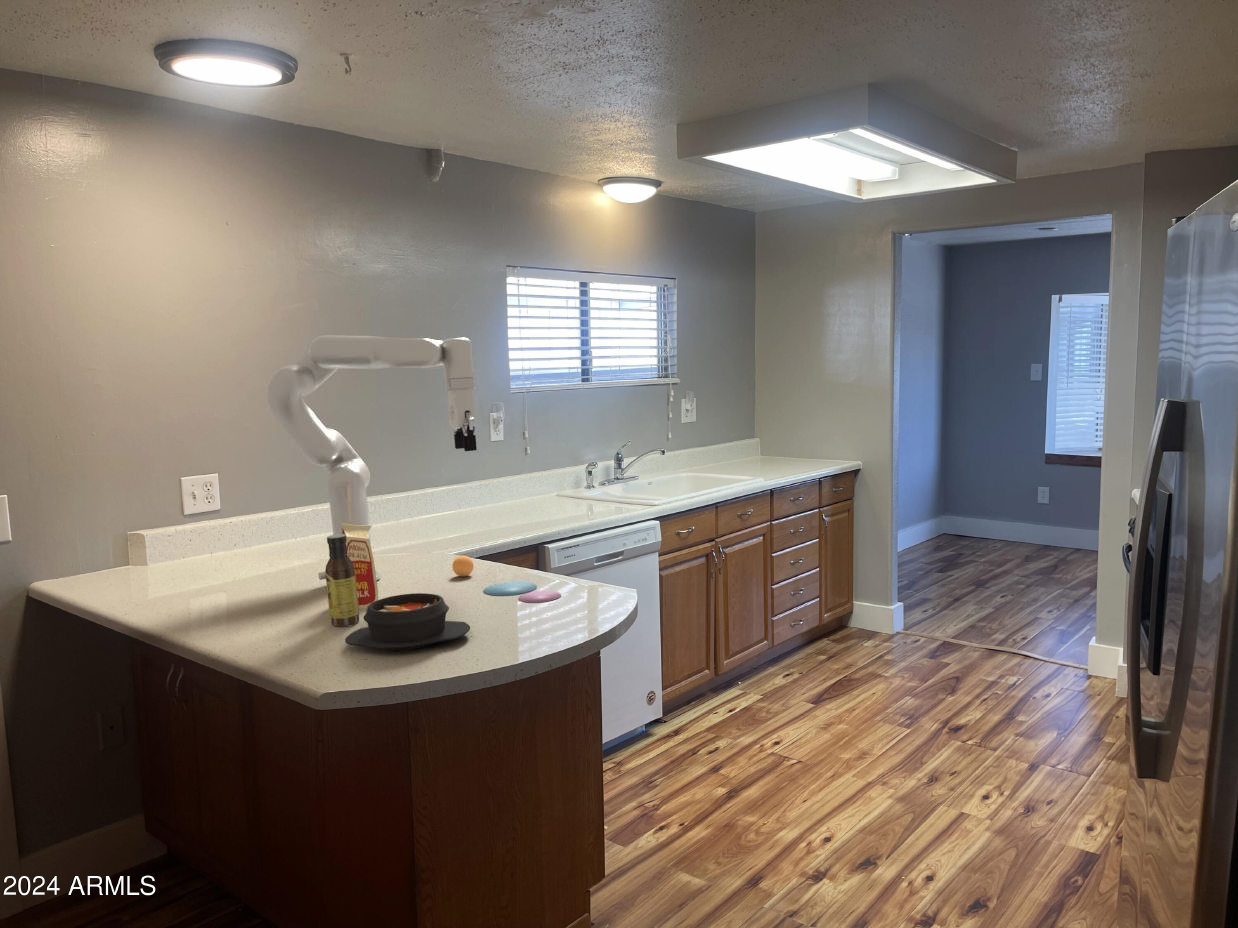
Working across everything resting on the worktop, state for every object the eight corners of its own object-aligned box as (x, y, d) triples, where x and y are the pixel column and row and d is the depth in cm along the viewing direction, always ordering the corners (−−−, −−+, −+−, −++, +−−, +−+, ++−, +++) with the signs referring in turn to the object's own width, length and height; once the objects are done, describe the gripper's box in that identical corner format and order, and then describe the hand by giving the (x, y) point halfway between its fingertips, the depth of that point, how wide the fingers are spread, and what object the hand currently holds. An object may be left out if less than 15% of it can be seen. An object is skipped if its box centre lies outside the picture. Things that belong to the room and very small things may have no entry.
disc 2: (534, 604, 211) (534, 604, 211) (510, 597, 218) (510, 597, 218) (569, 595, 217) (569, 595, 217) (544, 589, 225) (544, 588, 225)
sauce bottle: (335, 620, 207) (327, 533, 205) (363, 618, 207) (355, 531, 205) (326, 628, 201) (317, 538, 198) (355, 627, 201) (346, 537, 198)
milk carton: (344, 611, 215) (336, 526, 213) (337, 603, 223) (329, 521, 221) (383, 604, 219) (376, 521, 217) (374, 596, 227) (367, 516, 225)
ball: (460, 579, 240) (458, 559, 239) (449, 576, 244) (447, 556, 243) (478, 575, 243) (476, 555, 243) (467, 572, 248) (465, 552, 247)
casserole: (476, 625, 197) (473, 587, 196) (463, 653, 178) (460, 610, 178) (359, 632, 197) (355, 594, 196) (334, 660, 178) (330, 618, 177)
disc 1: (502, 598, 218) (502, 597, 218) (473, 590, 228) (473, 589, 228) (547, 587, 226) (547, 586, 226) (517, 579, 236) (517, 579, 236)
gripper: (438, 386, 250) (444, 449, 252) (454, 386, 234) (460, 453, 236) (466, 384, 253) (471, 446, 255) (482, 384, 237) (488, 450, 239)
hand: (465, 449), depth 246 cm, fingers open, 9 cm apart
